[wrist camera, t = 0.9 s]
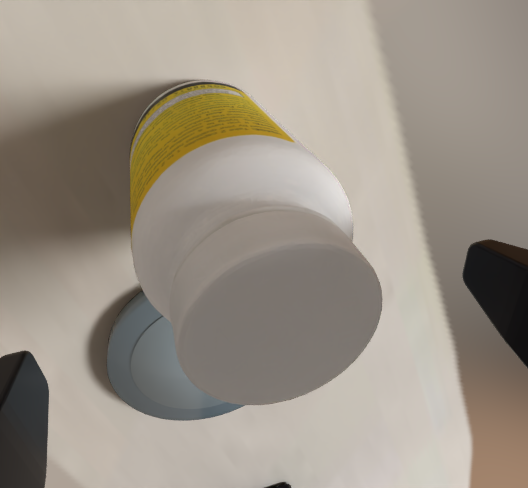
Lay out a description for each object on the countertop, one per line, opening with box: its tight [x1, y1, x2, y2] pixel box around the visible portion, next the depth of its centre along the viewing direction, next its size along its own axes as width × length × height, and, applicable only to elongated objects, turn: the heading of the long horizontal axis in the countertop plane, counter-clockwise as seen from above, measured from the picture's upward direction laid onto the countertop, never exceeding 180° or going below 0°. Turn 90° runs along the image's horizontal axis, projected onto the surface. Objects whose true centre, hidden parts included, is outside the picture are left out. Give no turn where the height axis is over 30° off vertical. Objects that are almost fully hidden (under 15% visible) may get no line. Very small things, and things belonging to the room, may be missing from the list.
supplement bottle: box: [130, 80, 382, 405], centre depth 11 cm, size 5×5×10 cm
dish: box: [107, 291, 245, 420], centre depth 20 cm, size 9×9×1 cm
